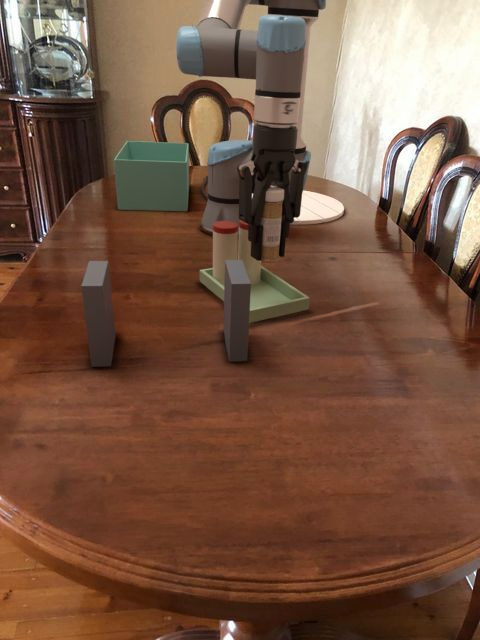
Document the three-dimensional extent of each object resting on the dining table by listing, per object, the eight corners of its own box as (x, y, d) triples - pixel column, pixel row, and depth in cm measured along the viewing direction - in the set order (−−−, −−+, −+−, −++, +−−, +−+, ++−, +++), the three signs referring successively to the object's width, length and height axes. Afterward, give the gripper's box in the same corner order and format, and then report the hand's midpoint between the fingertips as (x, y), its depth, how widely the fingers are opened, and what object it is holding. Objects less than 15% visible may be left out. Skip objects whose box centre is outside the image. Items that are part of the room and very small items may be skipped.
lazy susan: (248, 229, 149) (249, 217, 147) (205, 194, 179) (205, 183, 178) (367, 219, 164) (368, 208, 162) (308, 188, 194) (309, 179, 192)
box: (117, 209, 158) (113, 159, 151) (129, 184, 185) (126, 140, 178) (187, 211, 160) (186, 162, 153) (189, 186, 188) (188, 143, 180)
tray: (199, 284, 114) (199, 269, 112) (253, 274, 120) (254, 260, 118) (249, 326, 98) (250, 310, 96) (308, 312, 105) (310, 297, 103)
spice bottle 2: (233, 278, 115) (234, 219, 109) (252, 274, 118) (255, 216, 111) (244, 286, 112) (246, 226, 105) (264, 283, 114) (268, 223, 108)
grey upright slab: (229, 361, 87) (231, 283, 80) (223, 332, 95) (224, 259, 88) (247, 361, 87) (251, 283, 80) (239, 332, 96) (242, 259, 89)
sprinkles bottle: (277, 255, 102) (283, 185, 96) (280, 264, 99) (286, 191, 92) (254, 255, 102) (258, 184, 95) (255, 263, 98) (260, 190, 91)
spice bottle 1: (208, 282, 113) (208, 222, 106) (229, 279, 115) (230, 219, 108) (219, 291, 109) (220, 229, 102) (240, 287, 111) (242, 226, 105)
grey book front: (91, 367, 83) (80, 285, 76) (98, 336, 92) (89, 260, 85) (110, 366, 84) (102, 285, 77) (115, 336, 92) (108, 260, 85)
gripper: (241, 128, 81) (236, 269, 93) (330, 126, 90) (316, 256, 101) (219, 121, 87) (217, 256, 99) (305, 120, 95) (294, 244, 107)
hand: (267, 256), depth 100 cm, fingers closed on sprinkles bottle, 4 cm apart
